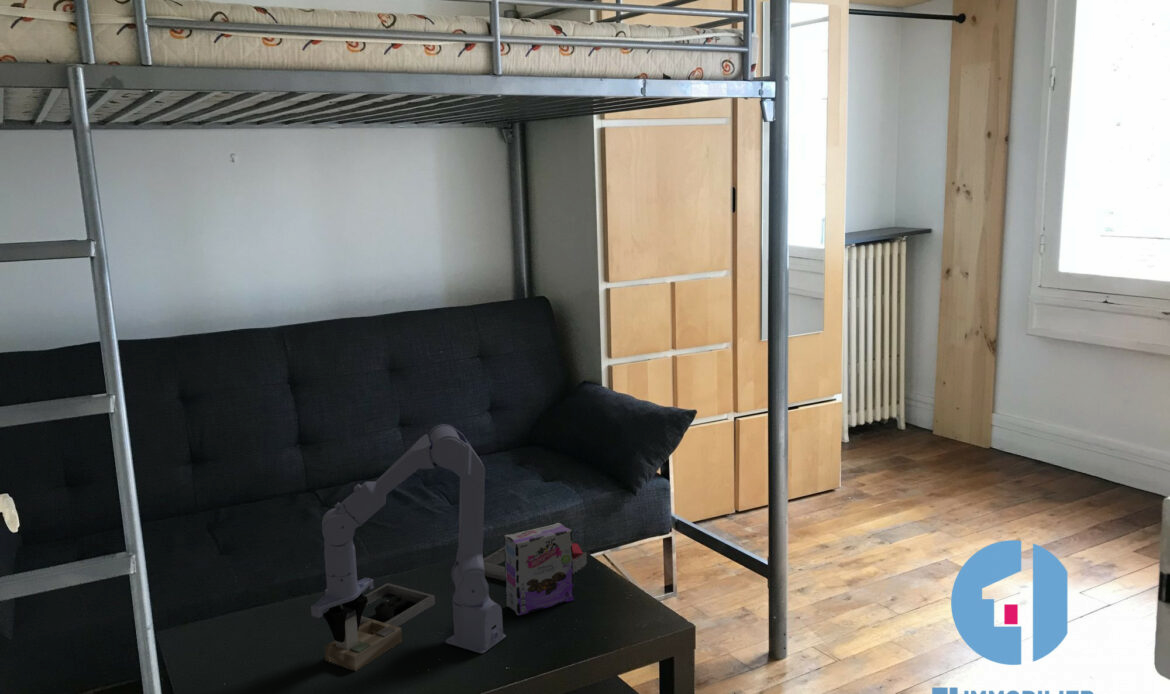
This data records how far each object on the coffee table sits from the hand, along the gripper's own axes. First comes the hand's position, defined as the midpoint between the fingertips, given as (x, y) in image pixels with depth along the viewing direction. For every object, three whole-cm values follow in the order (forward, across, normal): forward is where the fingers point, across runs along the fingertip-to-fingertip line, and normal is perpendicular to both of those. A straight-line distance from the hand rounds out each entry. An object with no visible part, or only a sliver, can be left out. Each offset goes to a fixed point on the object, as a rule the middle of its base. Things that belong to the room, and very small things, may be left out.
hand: (346, 636), depth 185 cm
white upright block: (+3, 0, 0) cm, 3 cm away
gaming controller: (+5, -19, -4) cm, 20 cm away
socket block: (+4, -4, +1) cm, 6 cm away
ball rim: (+4, -52, +9) cm, 52 cm away
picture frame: (+4, -18, -7) cm, 20 cm away
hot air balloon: (+5, -54, +12) cm, 55 cm away
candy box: (+5, -38, +20) cm, 43 cm away
